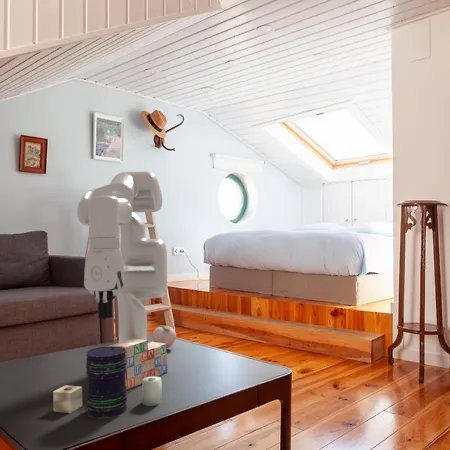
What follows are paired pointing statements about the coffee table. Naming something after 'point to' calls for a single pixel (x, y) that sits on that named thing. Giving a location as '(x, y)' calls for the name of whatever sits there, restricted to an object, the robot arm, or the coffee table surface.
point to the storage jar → (106, 382)
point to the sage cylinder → (151, 391)
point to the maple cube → (67, 398)
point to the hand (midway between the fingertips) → (105, 317)
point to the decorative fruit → (164, 335)
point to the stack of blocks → (143, 360)
